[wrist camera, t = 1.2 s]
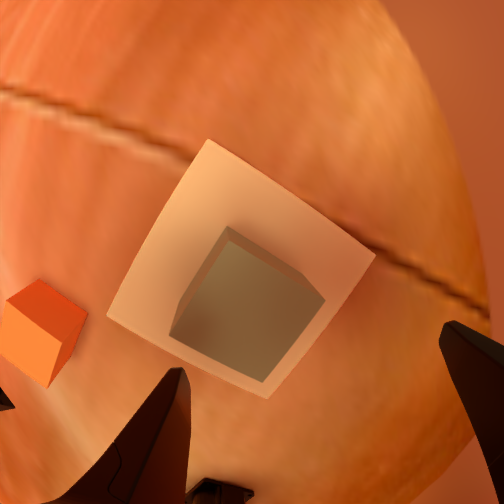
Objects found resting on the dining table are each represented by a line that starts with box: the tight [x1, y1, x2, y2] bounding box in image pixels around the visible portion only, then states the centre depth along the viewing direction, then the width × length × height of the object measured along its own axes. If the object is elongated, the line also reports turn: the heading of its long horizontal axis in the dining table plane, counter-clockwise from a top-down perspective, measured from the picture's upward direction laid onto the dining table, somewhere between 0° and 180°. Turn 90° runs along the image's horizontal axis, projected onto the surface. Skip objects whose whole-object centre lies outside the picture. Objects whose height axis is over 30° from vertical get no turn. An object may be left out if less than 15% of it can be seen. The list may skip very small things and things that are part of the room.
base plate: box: [106, 139, 376, 399], centre depth 21 cm, size 14×14×1 cm
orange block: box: [0, 279, 88, 389], centre depth 19 cm, size 5×5×5 cm
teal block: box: [169, 226, 326, 383], centre depth 18 cm, size 6×6×5 cm
